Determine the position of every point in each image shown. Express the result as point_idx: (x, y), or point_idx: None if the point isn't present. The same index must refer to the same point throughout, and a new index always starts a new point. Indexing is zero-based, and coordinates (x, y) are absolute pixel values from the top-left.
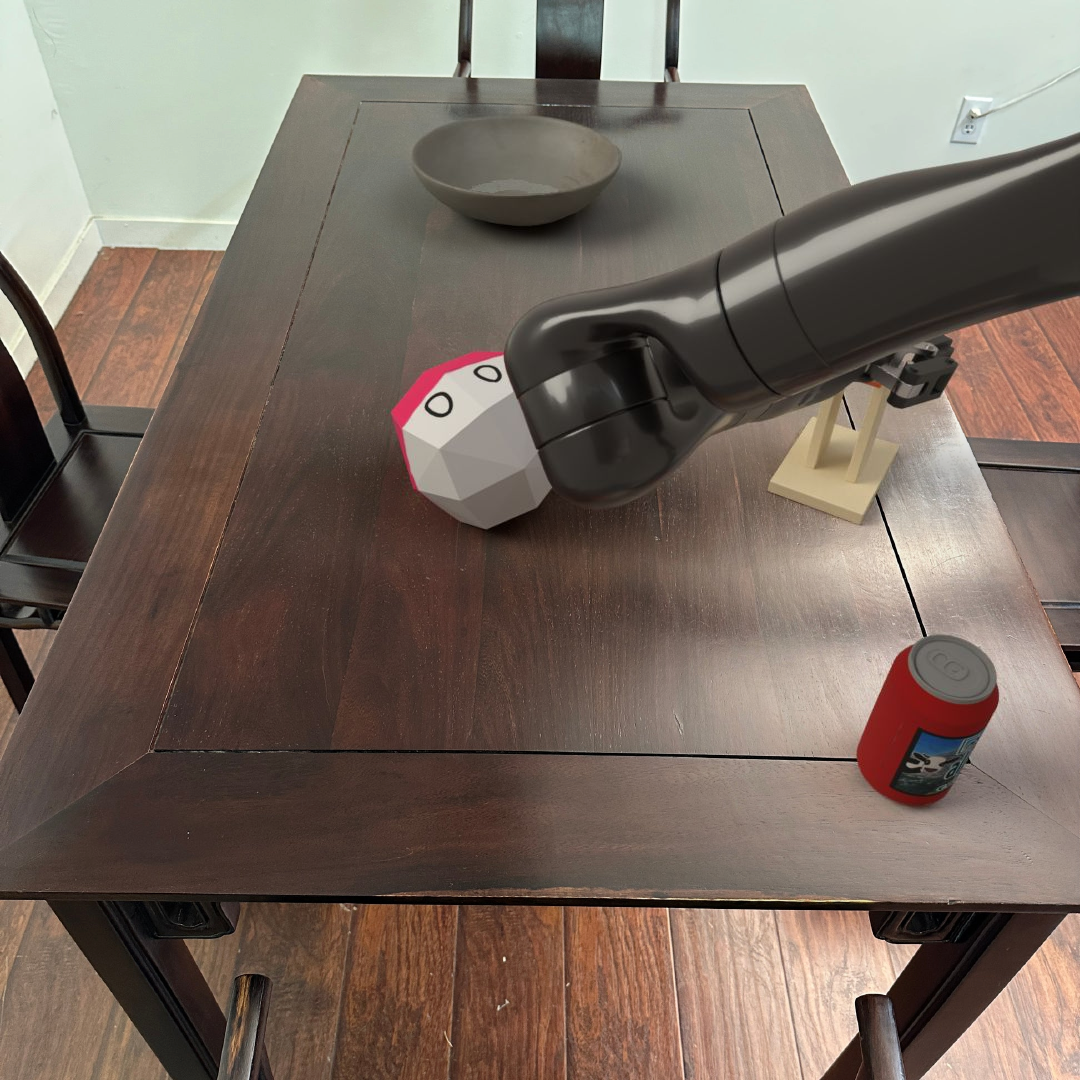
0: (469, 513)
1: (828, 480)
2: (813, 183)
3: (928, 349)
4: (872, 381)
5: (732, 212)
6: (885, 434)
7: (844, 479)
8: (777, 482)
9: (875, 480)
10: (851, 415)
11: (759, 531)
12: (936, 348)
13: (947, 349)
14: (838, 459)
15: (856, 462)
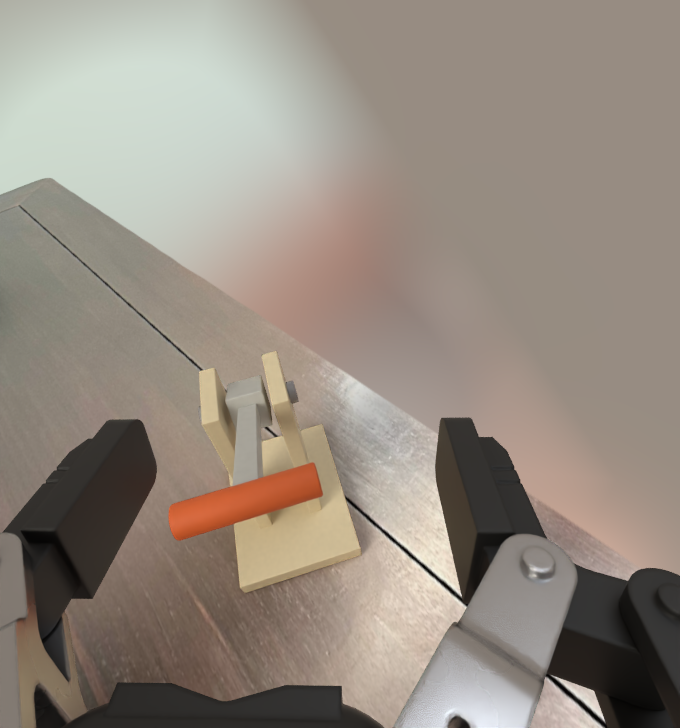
0: None
1: (296, 527)
2: (97, 231)
3: (568, 603)
4: (307, 499)
5: (41, 286)
6: (298, 415)
7: (309, 512)
8: (249, 582)
9: (335, 486)
10: None
11: (275, 677)
12: (551, 547)
13: (499, 464)
14: None
15: None
